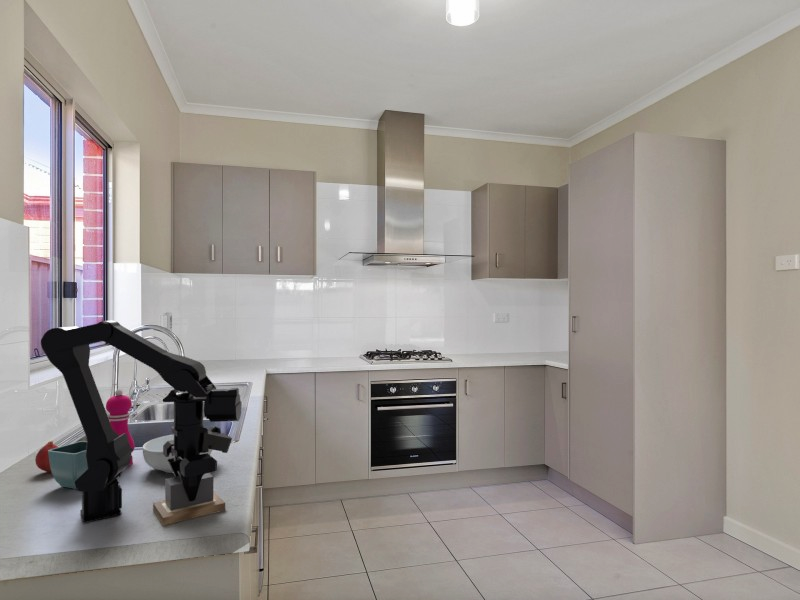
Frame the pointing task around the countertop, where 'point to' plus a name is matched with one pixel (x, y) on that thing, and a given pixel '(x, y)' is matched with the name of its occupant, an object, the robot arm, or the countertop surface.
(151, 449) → the cereal bowl
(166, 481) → the block
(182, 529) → the countertop surface
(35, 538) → the countertop surface
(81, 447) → the flower pot
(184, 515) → the pin board
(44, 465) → the onion
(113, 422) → the pepper mill
